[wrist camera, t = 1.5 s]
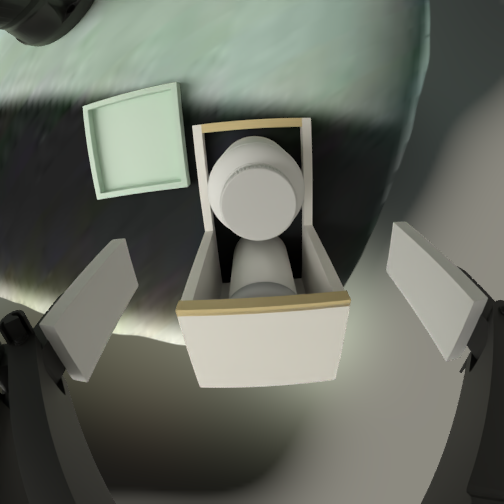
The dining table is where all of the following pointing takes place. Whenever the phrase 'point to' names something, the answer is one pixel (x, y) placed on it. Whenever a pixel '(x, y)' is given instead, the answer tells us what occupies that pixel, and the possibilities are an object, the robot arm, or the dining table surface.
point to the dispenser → (262, 296)
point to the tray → (137, 142)
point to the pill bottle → (256, 188)
